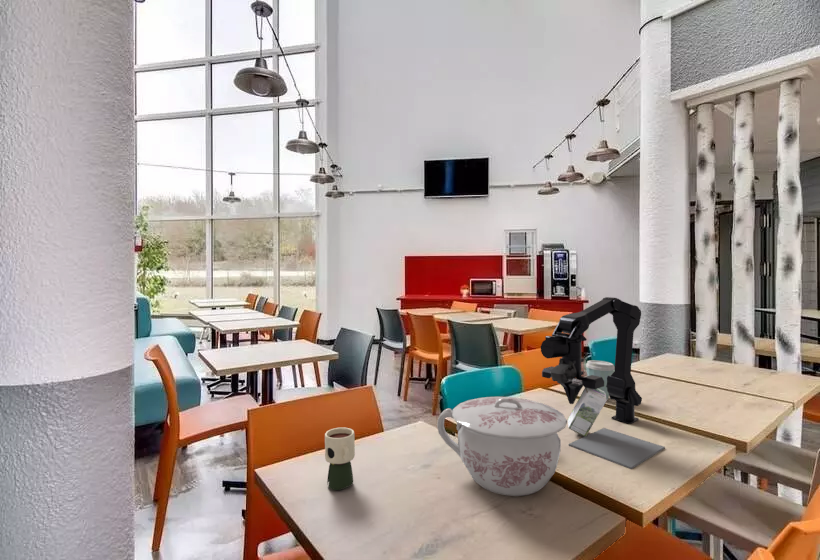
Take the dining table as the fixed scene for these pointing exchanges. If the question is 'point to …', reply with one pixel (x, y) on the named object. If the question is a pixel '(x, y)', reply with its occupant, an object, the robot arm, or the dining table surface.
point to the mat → (617, 447)
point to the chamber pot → (506, 442)
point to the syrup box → (586, 410)
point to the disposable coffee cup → (600, 372)
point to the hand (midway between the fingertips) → (571, 403)
